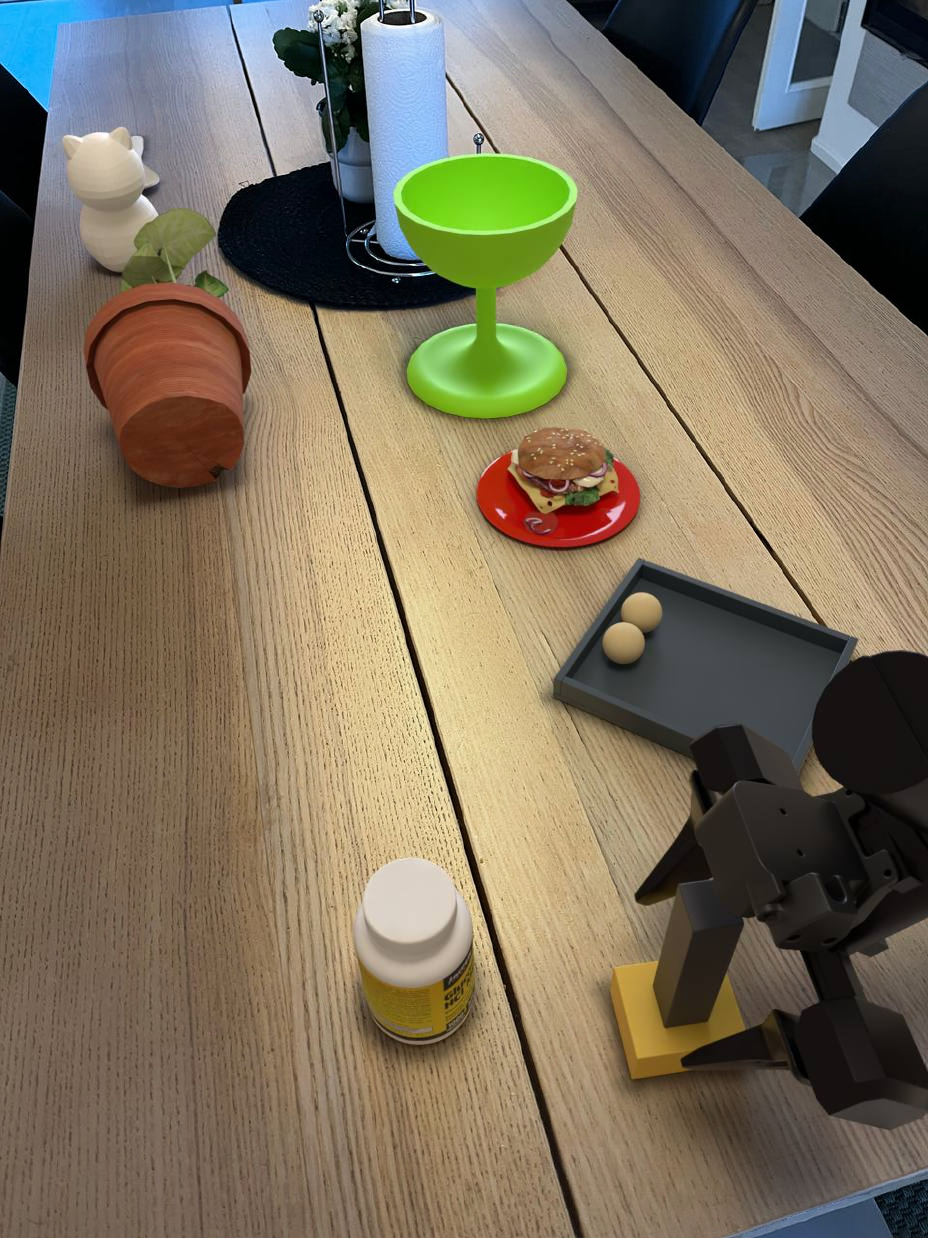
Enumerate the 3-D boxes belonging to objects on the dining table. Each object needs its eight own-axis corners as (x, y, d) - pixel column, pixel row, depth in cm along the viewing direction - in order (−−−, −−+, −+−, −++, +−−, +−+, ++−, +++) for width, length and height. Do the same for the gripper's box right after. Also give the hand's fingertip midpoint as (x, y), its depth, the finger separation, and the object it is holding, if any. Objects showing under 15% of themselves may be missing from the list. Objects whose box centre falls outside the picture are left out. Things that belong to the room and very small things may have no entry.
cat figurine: (95, 288, 115) (52, 152, 104) (85, 239, 123) (44, 108, 112) (175, 273, 117) (141, 138, 106) (160, 226, 125) (127, 96, 114)
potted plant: (291, 496, 91) (235, 280, 113) (253, 357, 79) (199, 145, 100) (116, 538, 89) (92, 311, 111) (51, 402, 77) (38, 176, 98)
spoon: (130, 200, 130) (127, 187, 129) (119, 139, 144) (116, 126, 142) (163, 195, 131) (160, 182, 129) (149, 134, 144) (146, 122, 143)
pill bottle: (466, 1056, 56) (461, 968, 48) (356, 1039, 56) (332, 949, 48) (482, 949, 60) (480, 851, 52) (379, 935, 61) (361, 836, 53)
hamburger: (451, 470, 91) (449, 414, 86) (590, 430, 94) (595, 374, 90) (519, 570, 82) (521, 513, 77) (670, 521, 85) (680, 464, 81)
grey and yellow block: (711, 974, 59) (756, 846, 48) (740, 1063, 55) (794, 945, 45) (609, 990, 58) (632, 864, 48) (631, 1080, 55) (661, 965, 44)
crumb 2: (612, 613, 75) (633, 644, 76) (587, 640, 74) (608, 671, 75) (639, 614, 72) (660, 646, 73) (612, 641, 71) (634, 673, 72)
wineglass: (549, 428, 95) (557, 243, 82) (385, 405, 98) (368, 224, 85) (580, 338, 105) (593, 161, 92) (432, 319, 108) (423, 146, 95)
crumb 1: (630, 585, 77) (653, 615, 78) (606, 612, 76) (629, 641, 77) (654, 582, 74) (677, 613, 75) (629, 610, 73) (653, 641, 74)
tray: (851, 657, 75) (858, 638, 73) (786, 800, 66) (793, 781, 65) (635, 576, 81) (638, 557, 79) (552, 697, 73) (553, 678, 71)
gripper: (763, 606, 46) (519, 777, 54) (954, 1008, 34) (602, 1162, 41) (881, 694, 53) (649, 836, 60) (1080, 1061, 40) (756, 1186, 47)
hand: (661, 978), depth 52 cm, fingers open, 8 cm apart
